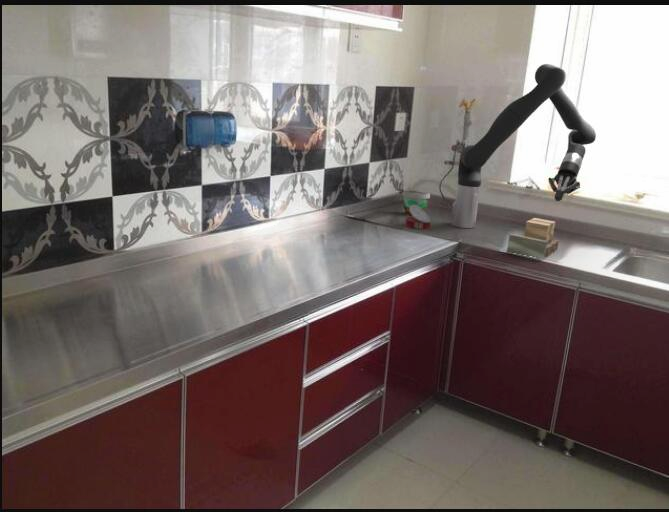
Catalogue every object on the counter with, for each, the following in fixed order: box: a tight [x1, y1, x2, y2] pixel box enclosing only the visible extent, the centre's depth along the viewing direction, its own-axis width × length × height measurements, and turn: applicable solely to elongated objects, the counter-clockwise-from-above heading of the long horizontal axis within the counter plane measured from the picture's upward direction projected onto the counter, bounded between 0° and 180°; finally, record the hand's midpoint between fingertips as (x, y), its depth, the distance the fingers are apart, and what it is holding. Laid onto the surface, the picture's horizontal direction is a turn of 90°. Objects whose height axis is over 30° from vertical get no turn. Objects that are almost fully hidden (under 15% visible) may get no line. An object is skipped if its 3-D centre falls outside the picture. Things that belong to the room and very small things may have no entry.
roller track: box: [506, 233, 560, 260], centre depth 236 cm, size 20×13×6 cm, turn 147°
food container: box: [401, 190, 431, 216], centre depth 280 cm, size 12×6×10 cm, turn 81°
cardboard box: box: [523, 217, 556, 243], centre depth 239 cm, size 10×8×7 cm
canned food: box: [405, 204, 431, 230], centre depth 260 cm, size 11×10×10 cm
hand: (557, 199), depth 253 cm, fingers closed
